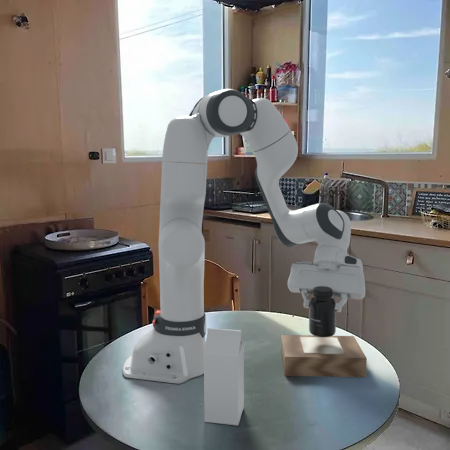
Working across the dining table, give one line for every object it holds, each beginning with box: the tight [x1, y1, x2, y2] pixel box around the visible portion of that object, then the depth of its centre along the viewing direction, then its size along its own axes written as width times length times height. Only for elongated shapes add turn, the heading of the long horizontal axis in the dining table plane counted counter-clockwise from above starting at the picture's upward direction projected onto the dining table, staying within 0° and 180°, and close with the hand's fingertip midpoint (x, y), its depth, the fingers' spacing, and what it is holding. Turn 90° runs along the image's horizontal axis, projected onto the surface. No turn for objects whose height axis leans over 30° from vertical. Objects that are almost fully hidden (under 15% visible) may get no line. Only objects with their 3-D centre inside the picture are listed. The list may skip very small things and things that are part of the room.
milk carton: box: [203, 327, 245, 426], centre depth 95 cm, size 7×7×19 cm
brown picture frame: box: [280, 334, 368, 378], centre depth 120 cm, size 20×14×5 cm
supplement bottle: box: [308, 286, 337, 337], centre depth 118 cm, size 7×7×12 cm
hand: (321, 309), depth 117 cm, fingers closed on supplement bottle, 7 cm apart
